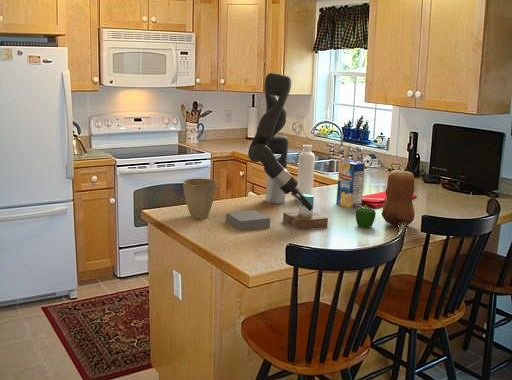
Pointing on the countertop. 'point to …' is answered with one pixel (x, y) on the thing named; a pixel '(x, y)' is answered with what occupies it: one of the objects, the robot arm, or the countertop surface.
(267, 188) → the robot arm
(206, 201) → the plant pot
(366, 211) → the bell pepper
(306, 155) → the bottle
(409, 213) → the butternut squash
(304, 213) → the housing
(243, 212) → the grey stand
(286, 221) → the walnut stand
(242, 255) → the countertop surface
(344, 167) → the beverage box
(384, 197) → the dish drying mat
